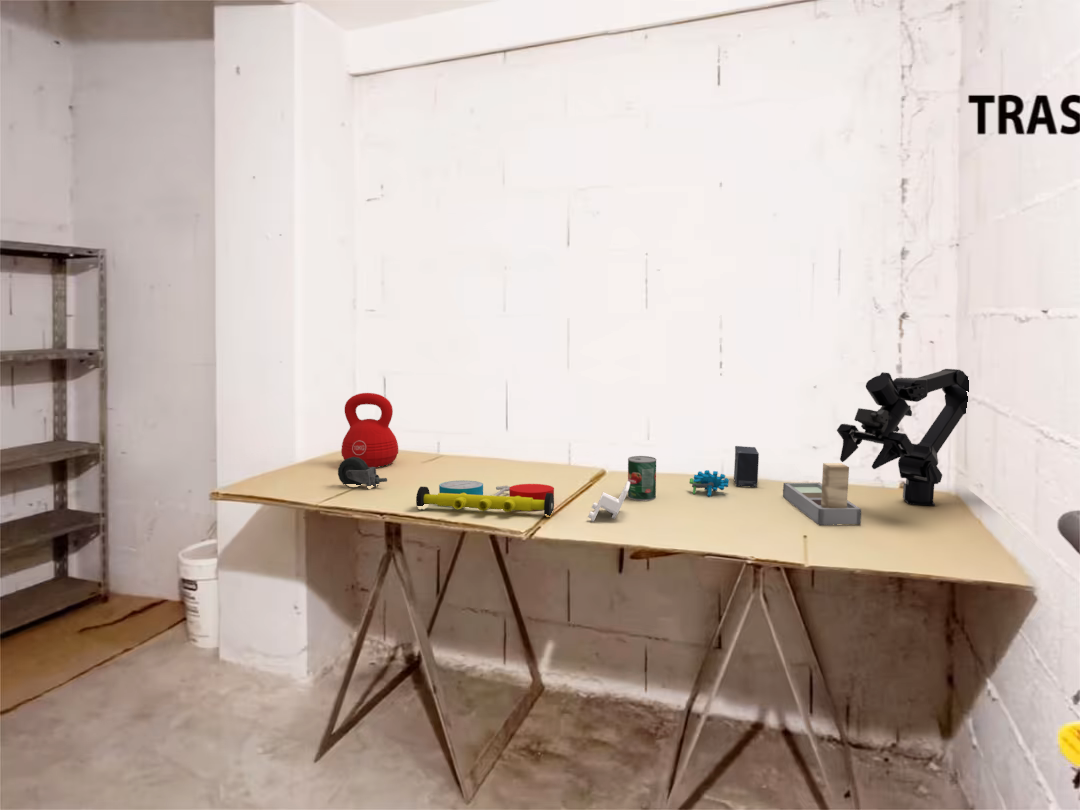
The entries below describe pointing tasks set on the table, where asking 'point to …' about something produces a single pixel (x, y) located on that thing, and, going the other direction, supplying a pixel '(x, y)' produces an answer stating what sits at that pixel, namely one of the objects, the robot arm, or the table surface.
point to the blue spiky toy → (709, 481)
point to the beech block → (834, 485)
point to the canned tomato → (642, 478)
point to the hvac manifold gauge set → (490, 497)
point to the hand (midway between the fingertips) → (856, 464)
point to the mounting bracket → (609, 503)
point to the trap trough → (819, 505)
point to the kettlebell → (370, 432)
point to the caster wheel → (358, 472)
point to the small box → (746, 466)
